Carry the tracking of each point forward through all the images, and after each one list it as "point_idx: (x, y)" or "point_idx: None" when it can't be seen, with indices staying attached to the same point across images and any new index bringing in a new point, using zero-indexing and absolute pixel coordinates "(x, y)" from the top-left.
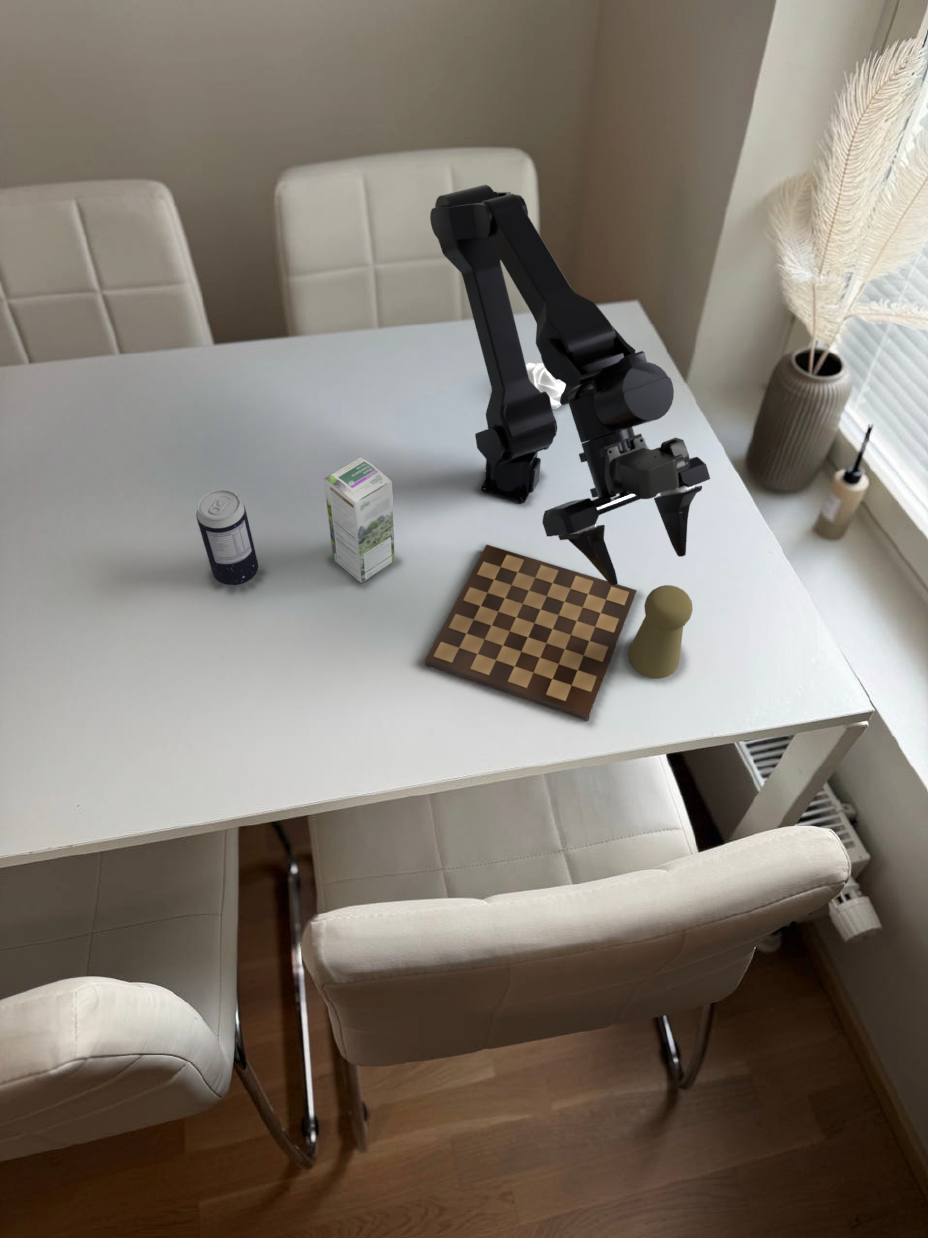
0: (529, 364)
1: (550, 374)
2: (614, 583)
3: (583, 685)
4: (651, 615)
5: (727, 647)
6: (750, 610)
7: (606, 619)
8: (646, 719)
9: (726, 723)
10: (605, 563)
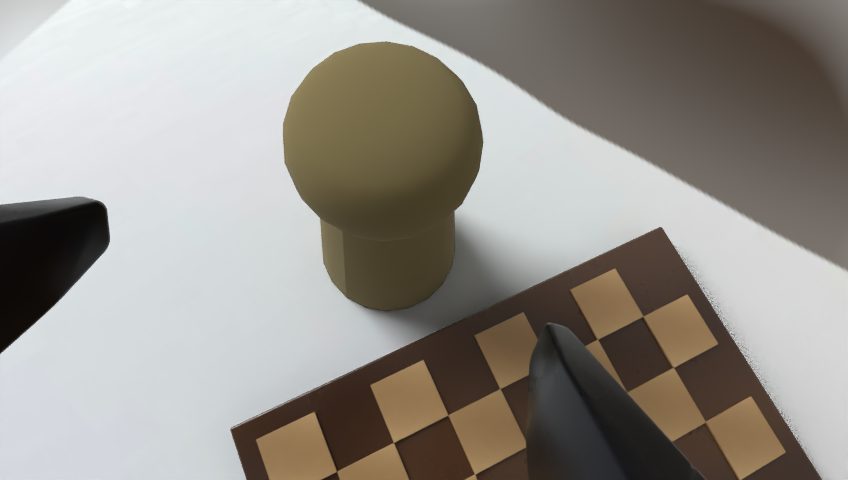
0: None
1: None
2: (570, 330)
3: (619, 294)
4: (481, 153)
5: (228, 142)
6: (74, 168)
7: (400, 411)
8: (537, 151)
9: (413, 40)
10: (649, 429)
